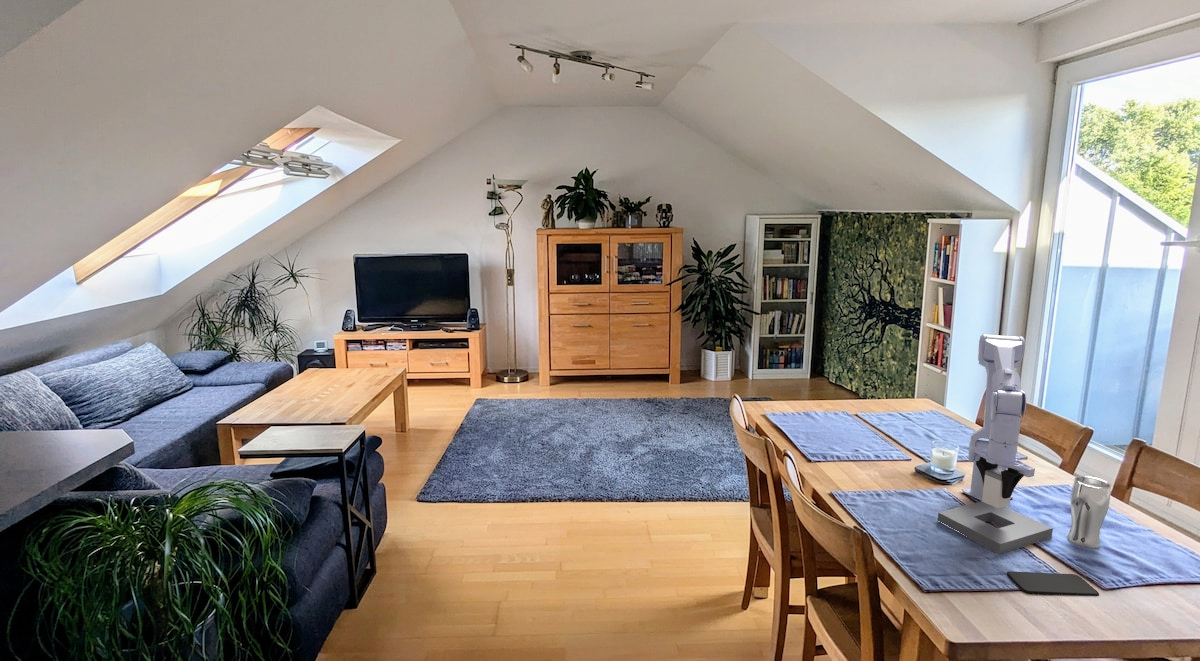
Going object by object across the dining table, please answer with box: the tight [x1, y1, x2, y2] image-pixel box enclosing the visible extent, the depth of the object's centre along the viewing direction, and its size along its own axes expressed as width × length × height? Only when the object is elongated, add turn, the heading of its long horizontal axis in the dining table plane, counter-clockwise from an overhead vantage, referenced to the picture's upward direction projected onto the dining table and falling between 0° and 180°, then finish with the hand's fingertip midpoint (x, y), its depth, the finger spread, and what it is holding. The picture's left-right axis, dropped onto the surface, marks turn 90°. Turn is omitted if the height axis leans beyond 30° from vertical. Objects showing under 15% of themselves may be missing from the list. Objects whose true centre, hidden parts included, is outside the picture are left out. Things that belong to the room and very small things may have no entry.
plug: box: [982, 468, 1011, 509], centre depth 148 cm, size 4×4×8 cm
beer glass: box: [1066, 475, 1112, 549], centre depth 143 cm, size 7×7×15 cm
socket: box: [937, 500, 1054, 555], centre depth 150 cm, size 18×16×2 cm
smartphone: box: [1006, 571, 1100, 597], centre depth 128 cm, size 7×1×15 cm
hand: (996, 493), depth 148 cm, fingers closed on plug, 4 cm apart
